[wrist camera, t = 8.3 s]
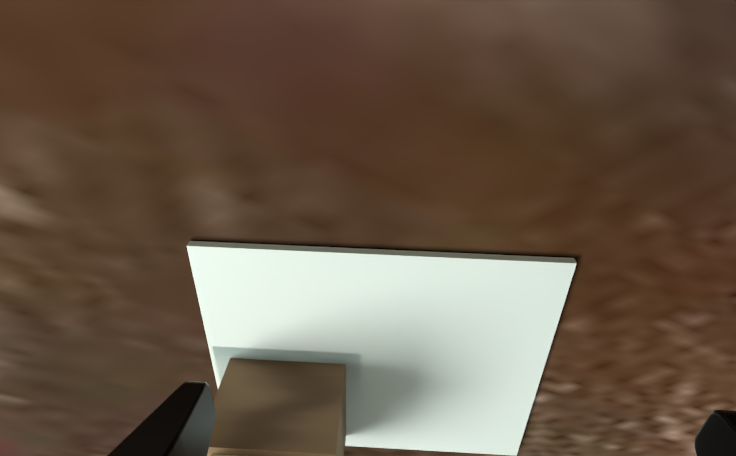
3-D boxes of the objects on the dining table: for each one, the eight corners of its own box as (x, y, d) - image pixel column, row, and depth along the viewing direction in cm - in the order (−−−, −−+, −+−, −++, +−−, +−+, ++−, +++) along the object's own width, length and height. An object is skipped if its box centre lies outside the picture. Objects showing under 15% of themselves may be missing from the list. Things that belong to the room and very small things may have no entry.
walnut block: (345, 363, 25) (335, 454, 21) (346, 435, 28) (337, 526, 24) (230, 357, 25) (196, 446, 21) (243, 429, 28) (217, 518, 24)
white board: (573, 257, 21) (576, 263, 21) (515, 449, 29) (516, 455, 29) (189, 240, 22) (186, 245, 22) (230, 433, 29) (228, 439, 29)
